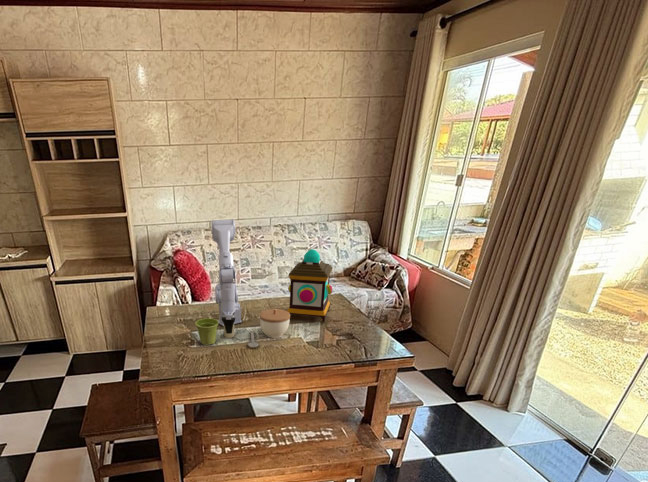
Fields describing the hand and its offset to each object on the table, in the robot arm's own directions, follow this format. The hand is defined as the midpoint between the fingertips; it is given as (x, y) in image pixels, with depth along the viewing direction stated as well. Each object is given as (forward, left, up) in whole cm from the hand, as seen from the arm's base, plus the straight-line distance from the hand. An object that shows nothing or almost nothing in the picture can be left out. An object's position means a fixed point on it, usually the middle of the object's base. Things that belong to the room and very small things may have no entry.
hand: (229, 329), depth 171 cm
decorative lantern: (-43, -1, -3) cm, 43 cm away
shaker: (0, 0, -3) cm, 3 cm away
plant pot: (+10, +1, -3) cm, 11 cm away
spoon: (-6, +10, -3) cm, 12 cm away
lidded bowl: (-17, +9, -3) cm, 19 cm away
